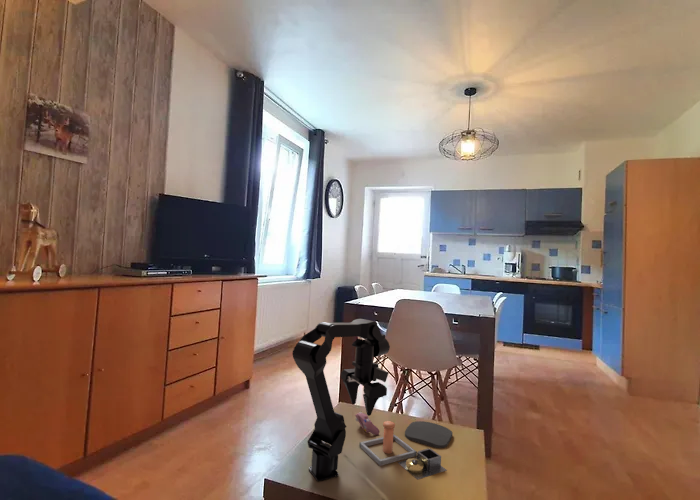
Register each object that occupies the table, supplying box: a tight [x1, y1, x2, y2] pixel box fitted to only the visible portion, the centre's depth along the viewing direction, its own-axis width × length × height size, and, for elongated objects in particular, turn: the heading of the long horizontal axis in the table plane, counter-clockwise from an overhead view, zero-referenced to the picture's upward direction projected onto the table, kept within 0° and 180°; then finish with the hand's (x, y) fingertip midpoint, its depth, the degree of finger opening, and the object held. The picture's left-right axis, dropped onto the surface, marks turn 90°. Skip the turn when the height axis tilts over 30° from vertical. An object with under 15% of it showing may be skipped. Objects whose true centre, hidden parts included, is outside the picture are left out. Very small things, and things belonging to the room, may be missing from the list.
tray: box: [358, 434, 418, 466], centre depth 113 cm, size 14×12×2 cm
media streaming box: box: [404, 420, 453, 449], centre depth 126 cm, size 15×15×3 cm
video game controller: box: [354, 411, 380, 436], centre depth 129 cm, size 10×5×7 cm, turn 24°
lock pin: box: [382, 420, 396, 455], centre depth 114 cm, size 4×4×9 cm
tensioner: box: [397, 448, 448, 480], centre depth 106 cm, size 11×9×4 cm
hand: (361, 409), depth 114 cm, fingers open, 9 cm apart
